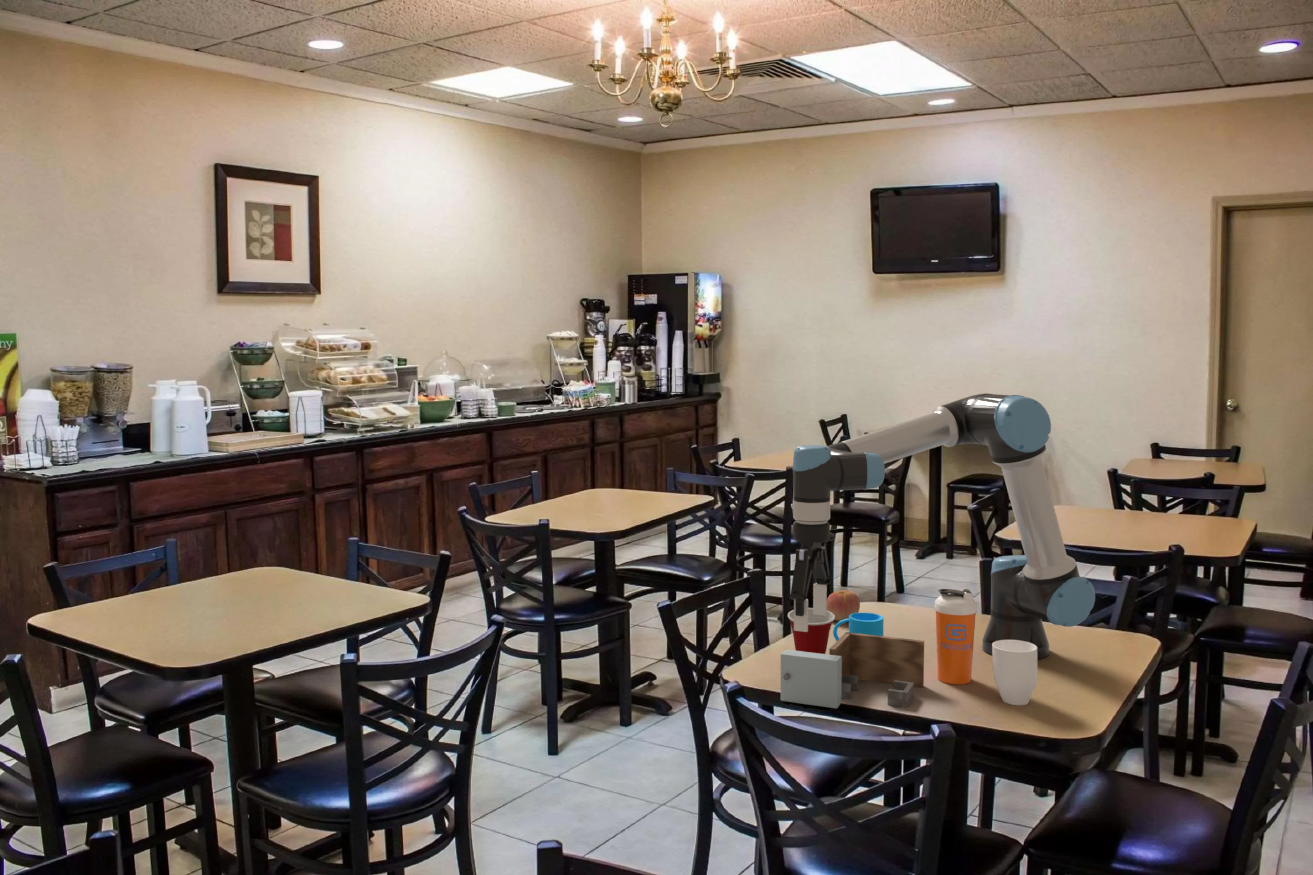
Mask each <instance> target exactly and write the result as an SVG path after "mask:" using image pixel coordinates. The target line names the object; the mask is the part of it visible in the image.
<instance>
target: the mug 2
mask: <svg viewBox="0 0 1313 875" xmlns="http://www.w3.org/2000/svg"><path fill="white" fill-rule="evenodd" d="M991 656H992V676H993V680H994V683H995V685H996V688H997V691H998V693H999V695H1000V697H1001V699H1002V701H1003V702H1004V703H1005V704H1008V705H1012V706H1026V705H1027V704H1029V702H1030V700H1031V697H1032V696H1033V693H1034V690H1035V688H1036V686H1037V682H1038V659H1037V646H1036V645H1034V644H1032V643H1029V642H1025V641H1019V640H999V641H995V642H993V643H992V655H991Z"/></svg>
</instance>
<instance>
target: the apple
mask: <svg viewBox="0 0 1313 875" xmlns="http://www.w3.org/2000/svg"><path fill="white" fill-rule="evenodd" d="M860 607H861V603H860V598H859V597H858V594H856V593H855V591H852V590H837V591H834V592H832V593H831V594H829V596H828V597H827V611H829V612H832V613H833V614H834V615H835V618H834V621H836V622H840V621H841V620H844V619H849V616H850V615H851V614H854V613H860Z"/></svg>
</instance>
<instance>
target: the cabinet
mask: <svg viewBox="0 0 1313 875" xmlns="http://www.w3.org/2000/svg"><path fill="white" fill-rule="evenodd" d="M828 650H829V654H828V655H836V656H842V677H841V699H843V700H844V699H845V700H850V699H851V698H852V697H851V696H852V695H851V691H857V690H858V688H859V687H858V685H859V680H862V681H868V682H869V681H870V682H877V683H884V684H885V683H886V684H891V685H893V688H892V689H891V688H888V689H887V705H890V706H896V707H904V708H908V706H909V705H910V704H911V702H912V700H913V699H914V696H915V687H916V688H923V687H924V685H925V684H924V683H925V682H924V679H925V676H924V675H925V674H924V673H925V640H923V639H921V640H920V639H909V638H902V637H894V636H884V635H883V636H877V635H867V634H858V633H849V631H848V632H847V631H845V632H844V633H843V634H842V635H841V636H840V637H839V640H838V641H836V642H835V643H834V644H833V645H831V647H830V648H829V649H828Z"/></svg>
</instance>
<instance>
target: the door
mask: <svg viewBox="0 0 1313 875" xmlns="http://www.w3.org/2000/svg"><path fill="white" fill-rule="evenodd" d="M841 677H842V656H836V655H829V654H828V653H825V654H819V653H811V652H803V651H796V650H794V649H793V650H792V649H785V650H784V651H782V652H781V653H780V701H782V702H789V703H794V704H795V703H796V704H803V705H810V706H816V707H817V706H818V707H825V708H831V709H838V708H839V707H840V705H841V704H842V698H841Z"/></svg>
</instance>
